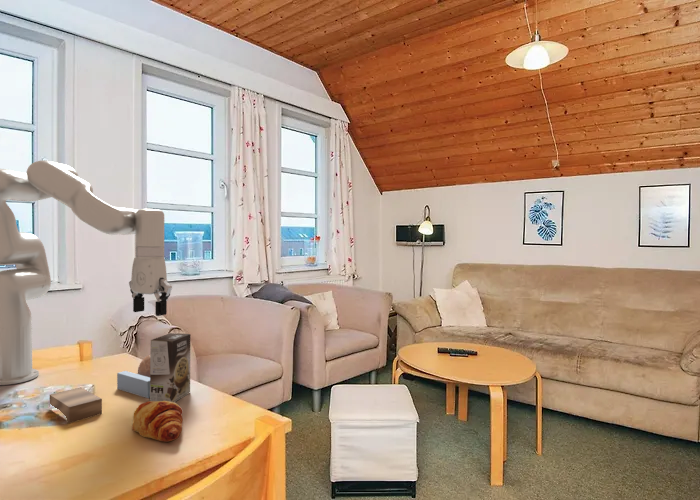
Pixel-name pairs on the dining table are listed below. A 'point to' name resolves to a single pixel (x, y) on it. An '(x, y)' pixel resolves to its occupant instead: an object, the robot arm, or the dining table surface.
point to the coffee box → (170, 367)
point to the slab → (77, 404)
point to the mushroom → (144, 367)
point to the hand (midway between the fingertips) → (149, 313)
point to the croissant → (158, 420)
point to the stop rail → (134, 383)
